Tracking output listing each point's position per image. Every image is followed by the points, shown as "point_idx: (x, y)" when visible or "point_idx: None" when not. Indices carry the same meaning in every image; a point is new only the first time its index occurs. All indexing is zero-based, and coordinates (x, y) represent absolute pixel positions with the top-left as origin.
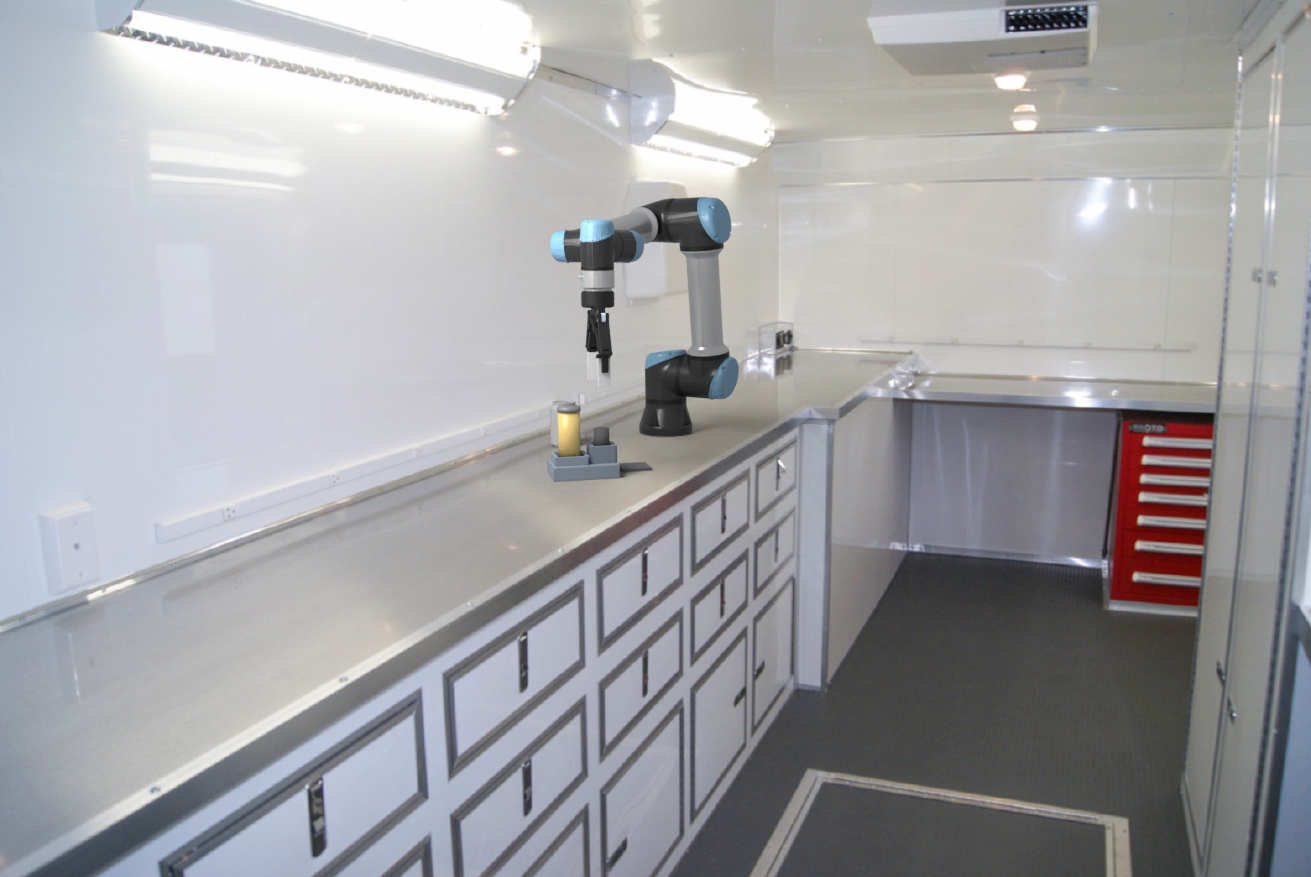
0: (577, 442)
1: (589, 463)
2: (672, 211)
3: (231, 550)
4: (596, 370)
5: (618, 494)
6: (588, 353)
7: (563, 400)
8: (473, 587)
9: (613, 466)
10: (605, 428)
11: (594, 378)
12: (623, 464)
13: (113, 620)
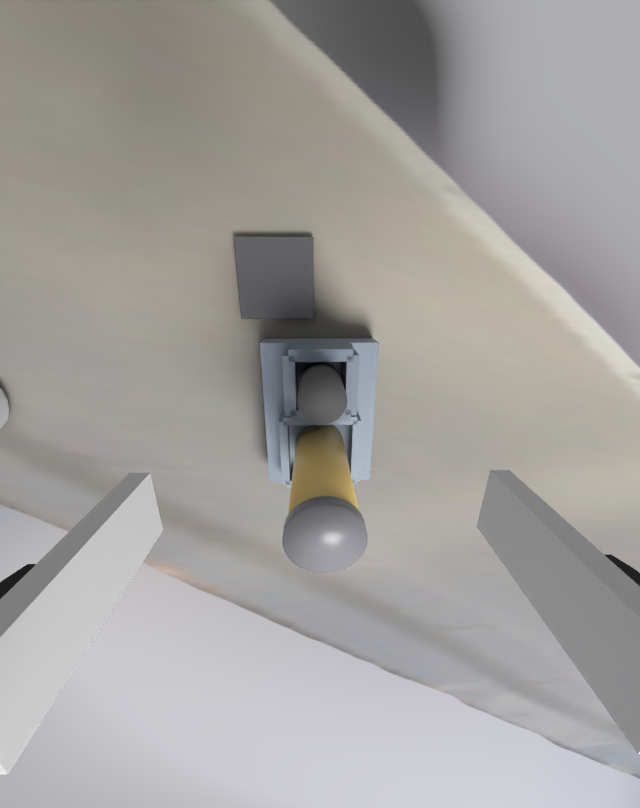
0: (344, 455)
1: None
2: None
3: (545, 736)
4: (116, 533)
5: (513, 370)
6: (12, 755)
7: None
8: None
9: (377, 356)
10: (324, 389)
11: (151, 506)
12: (257, 303)
13: None
